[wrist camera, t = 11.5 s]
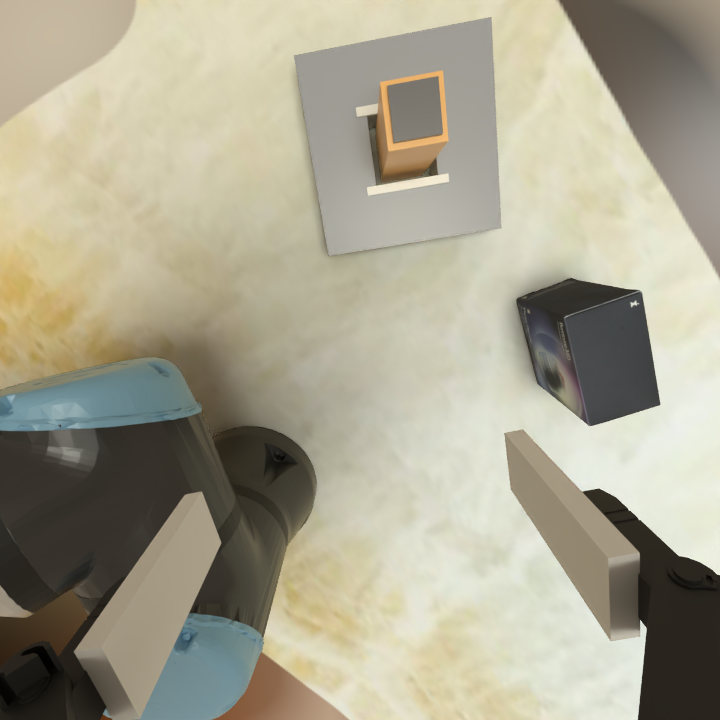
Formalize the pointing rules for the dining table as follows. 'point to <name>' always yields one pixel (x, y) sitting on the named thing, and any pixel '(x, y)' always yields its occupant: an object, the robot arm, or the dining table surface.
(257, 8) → the dining table surface
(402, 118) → the plug
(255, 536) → the robot arm
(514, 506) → the dining table surface
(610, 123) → the dining table surface
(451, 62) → the socket
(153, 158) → the dining table surface
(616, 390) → the small box
